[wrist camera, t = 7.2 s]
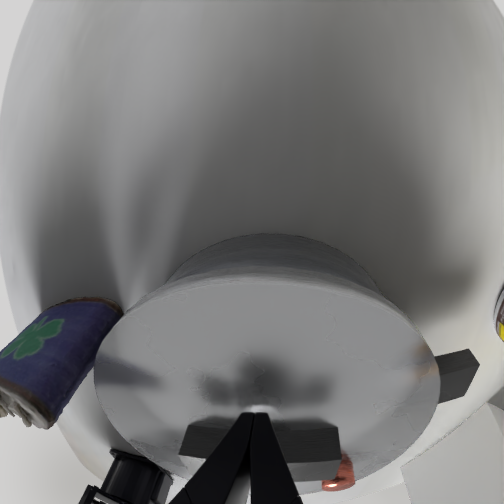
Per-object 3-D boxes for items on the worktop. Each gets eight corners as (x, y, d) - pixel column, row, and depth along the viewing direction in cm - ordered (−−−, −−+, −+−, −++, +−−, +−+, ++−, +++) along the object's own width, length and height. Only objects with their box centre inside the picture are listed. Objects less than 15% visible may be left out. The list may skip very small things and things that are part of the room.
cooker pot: (188, 426, 19) (172, 475, 15) (129, 241, 14) (73, 282, 9) (409, 416, 17) (424, 464, 12) (464, 227, 12) (522, 261, 7)
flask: (52, 337, 18) (-24, 421, 8) (35, 306, 17) (-51, 384, 7) (134, 329, 16) (43, 462, 6) (114, 288, 15) (-4, 414, 5)
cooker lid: (160, 468, 14) (149, 499, 12) (61, 271, 9) (15, 304, 7) (384, 470, 12) (390, 503, 10) (469, 254, 7) (517, 290, 5)
